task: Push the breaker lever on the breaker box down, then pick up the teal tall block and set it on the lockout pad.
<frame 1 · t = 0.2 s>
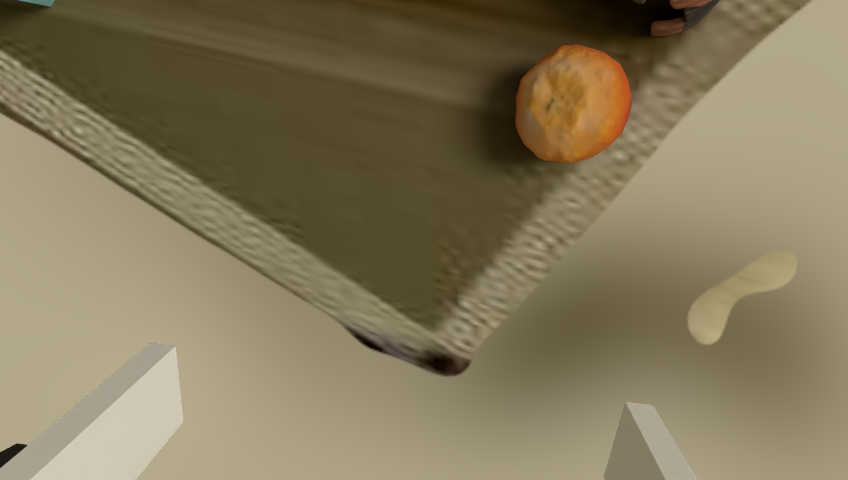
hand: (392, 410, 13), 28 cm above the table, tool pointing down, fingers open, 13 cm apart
fruit: (561, 105, 37), on the table
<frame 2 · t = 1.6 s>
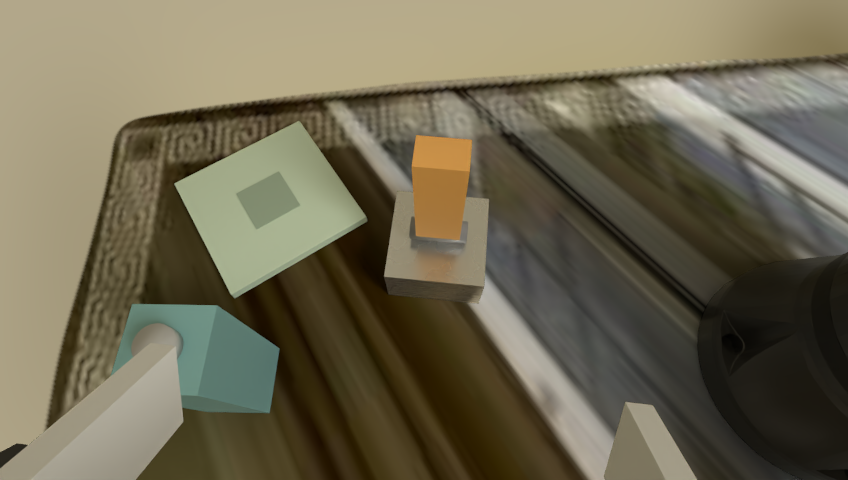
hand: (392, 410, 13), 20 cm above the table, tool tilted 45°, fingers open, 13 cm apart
breaker box: (437, 257, 37), on the table
breaker lever: (440, 200, 28), point 9 cm above the table, hinge at 0.0°
lockout pad: (271, 204, 39), on the table
teal tall block: (243, 379, 33), on the table
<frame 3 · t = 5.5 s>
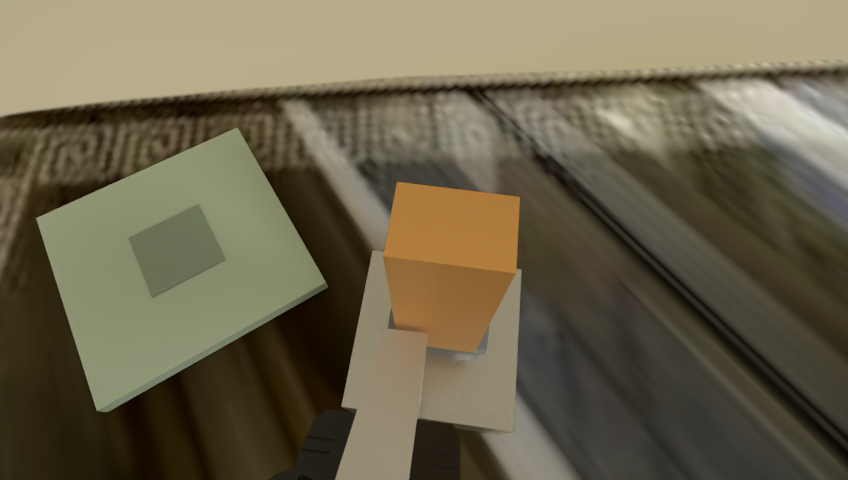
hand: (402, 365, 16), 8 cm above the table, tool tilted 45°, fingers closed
breaker box: (434, 351, 23), on the table
breaker lever: (443, 295, 15), point 9 cm above the table, hinge at 1.1°, touching gripper
lockout pad: (183, 254, 26), on the table
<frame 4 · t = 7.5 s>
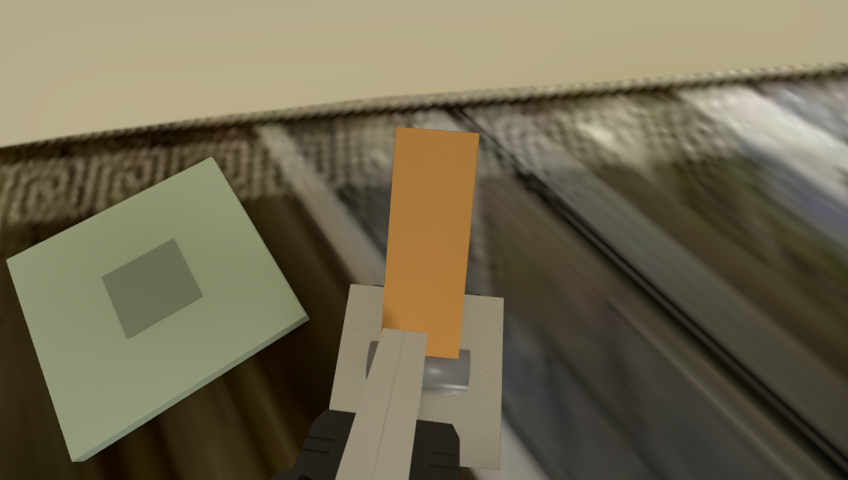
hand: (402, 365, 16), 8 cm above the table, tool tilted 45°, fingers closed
breaker box: (419, 382, 23), on the table
breaker lever: (427, 262, 18), point 7 cm above the table, hinge at 58.7°
lockout pad: (160, 291, 25), on the table
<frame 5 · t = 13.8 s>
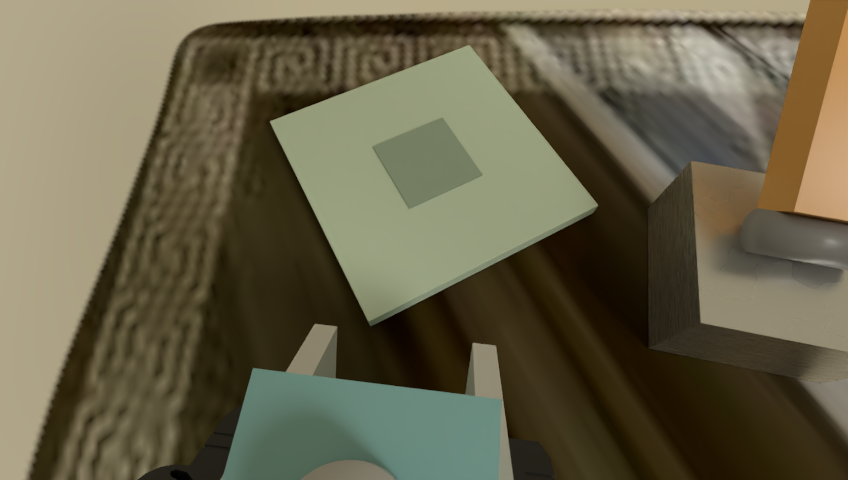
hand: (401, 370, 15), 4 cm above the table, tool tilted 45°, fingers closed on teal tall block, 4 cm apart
breaker box: (726, 288, 21), on the table
breaker lever: (844, 121, 16), point 7 cm above the table, hinge at 58.7°
lockout pad: (426, 170, 23), on the table
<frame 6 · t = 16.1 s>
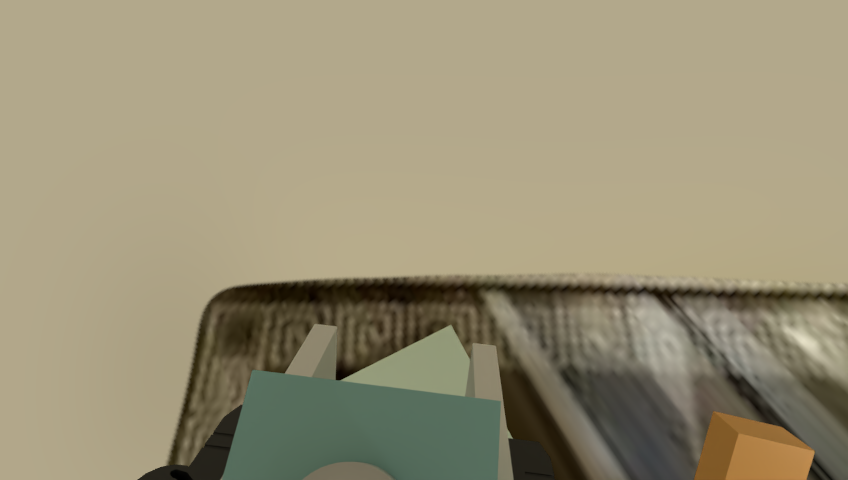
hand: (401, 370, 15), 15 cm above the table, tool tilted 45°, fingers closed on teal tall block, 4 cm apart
lockout pad: (410, 457, 28), on the table
when the fingers open (6 cm above the table, at t = 18.7 s): teal tall block drops 1 cm, resting on lockout pad.
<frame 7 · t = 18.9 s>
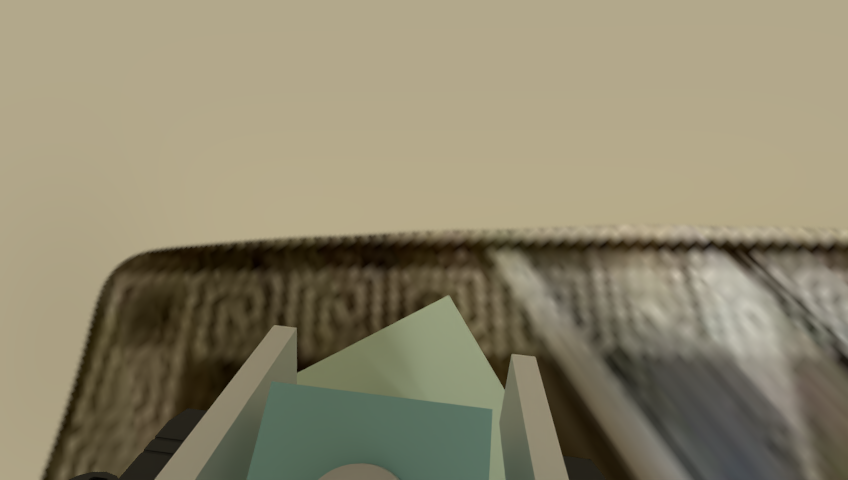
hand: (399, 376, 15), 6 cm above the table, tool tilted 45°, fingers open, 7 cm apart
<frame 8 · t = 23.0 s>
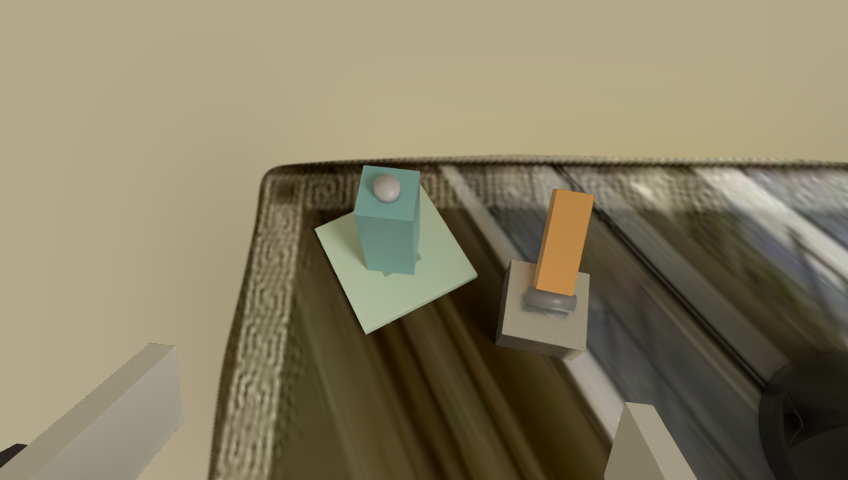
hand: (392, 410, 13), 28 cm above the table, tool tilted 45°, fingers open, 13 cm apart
breaker box: (536, 316, 43), on the table
breaker lever: (560, 251, 38), point 7 cm above the table, hinge at 58.7°
lockout pad: (394, 254, 46), on the table
teal tall block: (394, 251, 45), point 1 cm above the table, touching lockout pad
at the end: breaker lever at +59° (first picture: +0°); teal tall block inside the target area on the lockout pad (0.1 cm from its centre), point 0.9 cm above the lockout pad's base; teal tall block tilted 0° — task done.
